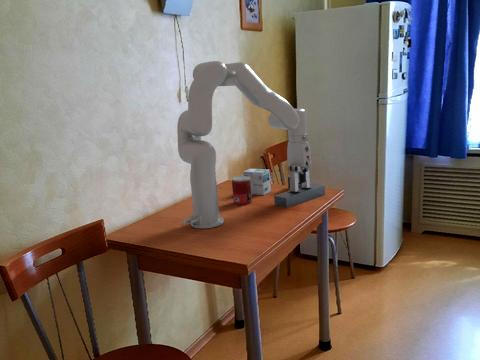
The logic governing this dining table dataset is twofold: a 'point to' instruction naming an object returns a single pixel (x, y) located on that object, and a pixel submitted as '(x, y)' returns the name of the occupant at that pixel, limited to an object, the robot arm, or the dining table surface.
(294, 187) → the clip
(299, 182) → the medicine bottle
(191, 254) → the dining table surface
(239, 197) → the canned food
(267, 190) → the light bulb box
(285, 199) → the grey slotted block
